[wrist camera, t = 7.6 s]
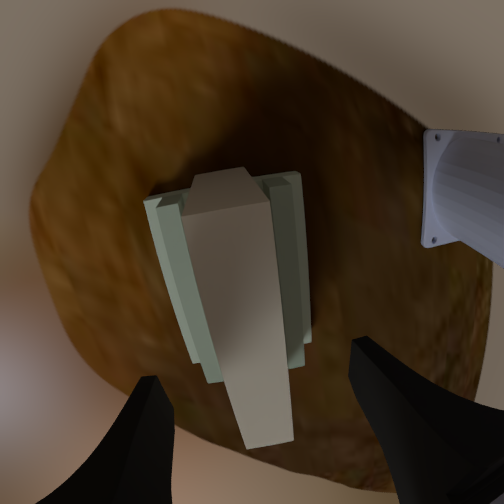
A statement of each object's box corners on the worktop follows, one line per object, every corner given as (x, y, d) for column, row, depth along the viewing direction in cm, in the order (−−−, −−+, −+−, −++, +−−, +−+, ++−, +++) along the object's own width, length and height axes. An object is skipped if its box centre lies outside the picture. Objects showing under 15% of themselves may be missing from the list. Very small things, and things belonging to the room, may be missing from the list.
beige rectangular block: (270, 353, 19) (293, 440, 13) (234, 359, 19) (246, 449, 13) (243, 166, 14) (269, 201, 8) (194, 175, 14) (181, 217, 8)
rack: (295, 170, 16) (313, 181, 13) (307, 332, 20) (320, 361, 18) (147, 196, 15) (134, 212, 13) (193, 353, 20) (192, 385, 17)
